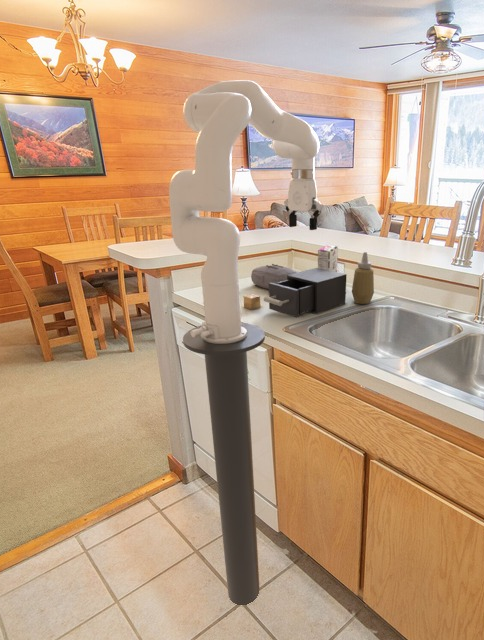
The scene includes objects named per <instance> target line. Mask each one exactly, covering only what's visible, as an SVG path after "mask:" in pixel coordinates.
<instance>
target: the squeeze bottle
mask: <svg viewBox="0 0 484 640" xmlns="http://www.w3.org/2000/svg"><path fill="white" fill-rule="evenodd" d="M374 281H375V279H374V270H373V269H372V262H370V261H369V257H368V252H367V251H364V252H363V253H362V257H361V260H360V261H358V262H357V267H356V268H355V269H354V273H353V281H352V287H351V295H352V298H353V302H354V303H355V304H360V305H361V304H362V305H367V304H370V303H371V300H372V299H373V297H374V294H375V282H374Z"/></svg>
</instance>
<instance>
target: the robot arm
mask: <svg viewBox="0 0 484 640" xmlns="http://www.w3.org/2000/svg"><path fill="white" fill-rule="evenodd" d="M182 113H183V118H184V121H185V123H186V125H187V126H188V127H189V129H190V130H192V131H193V132H195V133H197V134H198V135H197V138H196V142H195V148H194V156H195V157H194V159H195V163H194V164H195V166H194V169H182V170H179V171H177V172H175V173H174V174H173V176H172V177H171V179H170V182H169V187H168V199H169V213H170V225H171V226H170V227H171V234H172V240H173V242H174V245H175V247H177V249H179V251H181V252H183V253H186V254H192V255H200V256H205V257H206V259H205V262H204V264H203V265H202V268H201V272H200V279H201V280H200V281H201V288H202V298H203V309H204V320H205V321H203V322H202V323H201V324H202V325H200V326H201V327H200V328H199V329H195V330H191V329H190V330H191V336H192V337H197V336H200V335H201V338H202V339H203V340H204V341H206V342H209V343H214V344H228V343H234V342H238V341H240V340H242V339H244V338H245V337H246V336H247V330H246V329H245V328H244V327H242V326H241V323H242V317H241V301H240V300H241V299H240V283H239V251H240V243H241V234H240V230H239V228H238V226H237V225H236V224H235V223H234V222H232V221H231V220H230V219H226V218H221V217H212V216H200V212H208V213H209V212H211V213H222V212H226V211H227V210H229V209H230V208H231V207H232V203H233V196H234V195H233V163H232V162H233V148H234V145H235V143H236V141H237V139H238V137H239V136H240V134H242V133H243V131H244V130H245V129H246V128H247V126H248V125H250V126H251V127H252V128H253V129H254V130H255V131H257V133H258V134H259V135H260V136H262V137H264V138H267V139H270V140H273V141H272V148H273V151H274V154H275V155H276V156H278V158H282V159H287V160H288V159H289V160H290V159H291V171H290V175H291V179H289V184H288V192H287V193H288V194H287V199H285V200H284V201H283V204H284V207H285V210H286V212H287V215H288V218H289V219H288V226H289V228H294V227H297V226H298V225H297V224H298V218H297V217H298V215H297V214H296V213H297V212H302V213H307V212H308V214H309V216H310V217H309V224H308V225H309V228H308V229H309V231H315V230H317V229H318V218H320V215H321V213H322V210H323V208H324V204H323V203H321V202H320V201H319V200H318V190H317V183H316V180H315V157H316V156H317V155H318V153H319V150H320V140H319V138H318V135H317V133H316V131H315V130H314V129H313V127H311V125H310V124H309V123H308V122H307V121H306V120H304V119H302V118H300V117H299V116H296V115H294V114H291V113H289V112H287V111H285V110H283V109H281V108H279V107H278V105H277V104H276V103H275V102H274V101H273V99H271V97H270V96H269V95H268V93H267V92H266V91H265V90H264V89H263V88H262V86H260V85H259V84H258V83H257V82H255V81H253V80H249V79H237V80H221V81H218V82H215V83H213V84H210V85H209V86H206V87H205V88H202V89H200V90H198V91H195V92H193V93H191V94H190V95H189V96H188V97H187V98H186V99H185V101H184V104H183V110H182Z"/></svg>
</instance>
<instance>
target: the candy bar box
mask: <svg viewBox="0 0 484 640" xmlns="http://www.w3.org/2000/svg"><path fill="white" fill-rule="evenodd" d="M338 256H339V246H338V245H330V244H327V245H325V246H323V247H321V248H320V249H318V250H317V268H320V269H325V270H329V271H334V272H338V259H339V258H338Z"/></svg>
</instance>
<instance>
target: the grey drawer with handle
mask: <svg viewBox="0 0 484 640" xmlns="http://www.w3.org/2000/svg"><path fill="white" fill-rule="evenodd" d="M263 301H264V302H265V303H268V309H270V310H272V311H275V312H278V313H281V314H284V315H286V316H287V315H288V316H290V317H293V318H299V317H300V315H301V314H305V313H307V312H308V311H310V310H313V309H315V284H311V283H307V282H303V281H299V280H295V279H289V280H285V281H281V282H277V283H276V284H275V283H269V289H268V296H264V297H263Z"/></svg>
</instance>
